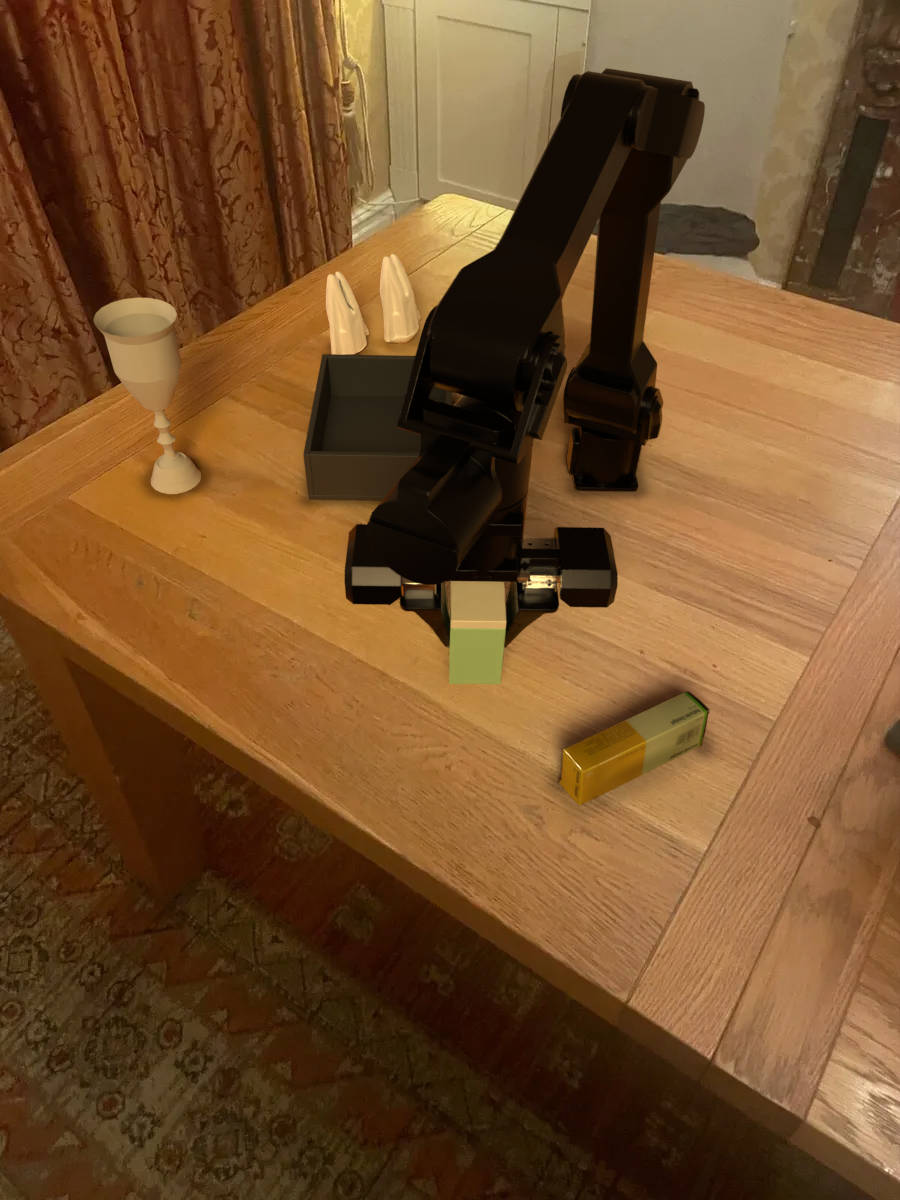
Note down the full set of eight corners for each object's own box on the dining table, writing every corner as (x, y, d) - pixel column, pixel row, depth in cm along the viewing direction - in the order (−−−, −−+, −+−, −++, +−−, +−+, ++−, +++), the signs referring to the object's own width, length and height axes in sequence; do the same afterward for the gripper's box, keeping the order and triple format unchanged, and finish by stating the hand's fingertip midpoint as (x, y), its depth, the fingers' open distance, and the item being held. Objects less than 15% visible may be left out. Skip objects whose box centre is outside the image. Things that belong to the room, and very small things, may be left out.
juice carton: (498, 636, 73) (503, 572, 68) (500, 685, 70) (506, 621, 65) (449, 636, 73) (450, 572, 68) (448, 684, 70) (450, 621, 65)
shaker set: (418, 328, 114) (418, 242, 106) (428, 345, 112) (428, 258, 104) (325, 342, 112) (317, 255, 104) (333, 359, 109) (325, 271, 101)
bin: (450, 399, 104) (451, 356, 100) (450, 501, 91) (451, 456, 87) (326, 397, 103) (322, 353, 99) (308, 499, 91) (303, 454, 87)
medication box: (681, 722, 72) (689, 687, 70) (704, 745, 71) (713, 710, 68) (557, 783, 68) (561, 747, 65) (578, 808, 66) (583, 773, 64)
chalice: (225, 469, 94) (193, 308, 81) (185, 507, 90) (144, 344, 77) (167, 450, 96) (126, 291, 83) (125, 487, 92) (76, 324, 79)
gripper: (612, 414, 65) (585, 571, 76) (350, 410, 64) (361, 568, 76) (634, 516, 57) (600, 675, 68) (336, 512, 57) (351, 672, 68)
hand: (475, 642), depth 70 cm, fingers closed on juice carton, 4 cm apart
